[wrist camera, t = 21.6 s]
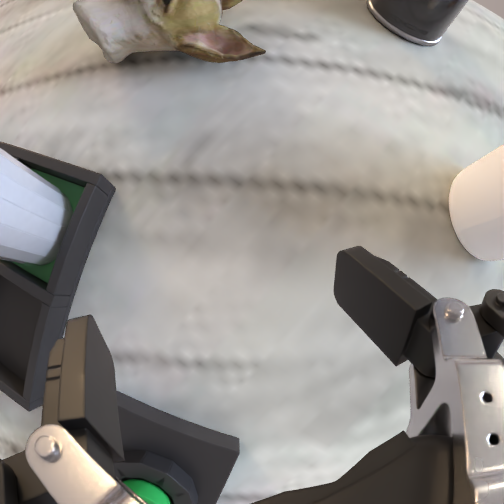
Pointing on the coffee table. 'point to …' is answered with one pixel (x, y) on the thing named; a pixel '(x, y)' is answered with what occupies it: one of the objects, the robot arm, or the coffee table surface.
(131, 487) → the button
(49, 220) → the tumbler
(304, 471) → the coffee table surface
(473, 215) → the mug
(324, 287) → the coffee table surface
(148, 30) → the ceramic sculpture
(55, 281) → the compartment tray
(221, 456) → the control box
